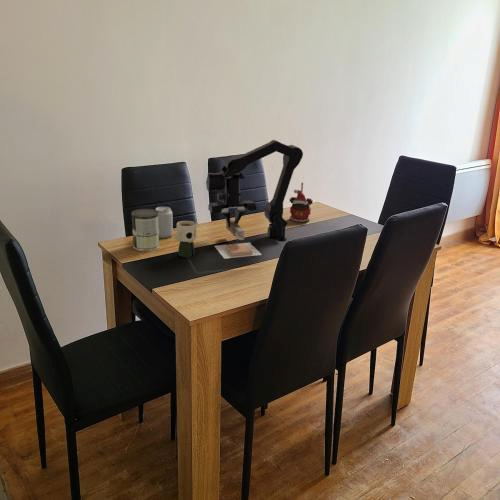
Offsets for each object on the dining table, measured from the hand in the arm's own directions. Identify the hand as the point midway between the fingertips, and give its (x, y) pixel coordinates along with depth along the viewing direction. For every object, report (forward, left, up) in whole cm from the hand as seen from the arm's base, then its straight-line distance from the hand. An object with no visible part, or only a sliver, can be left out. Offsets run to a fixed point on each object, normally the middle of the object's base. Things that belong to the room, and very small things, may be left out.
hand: (232, 226), depth 207 cm
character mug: (+22, +11, -7) cm, 25 cm away
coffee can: (+35, -3, -7) cm, 35 cm away
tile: (+2, +9, -5) cm, 10 cm away
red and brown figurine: (-40, -21, -7) cm, 46 cm away
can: (+26, -14, -7) cm, 30 cm away
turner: (0, +4, -2) cm, 4 cm away
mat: (+2, +12, -6) cm, 14 cm away
